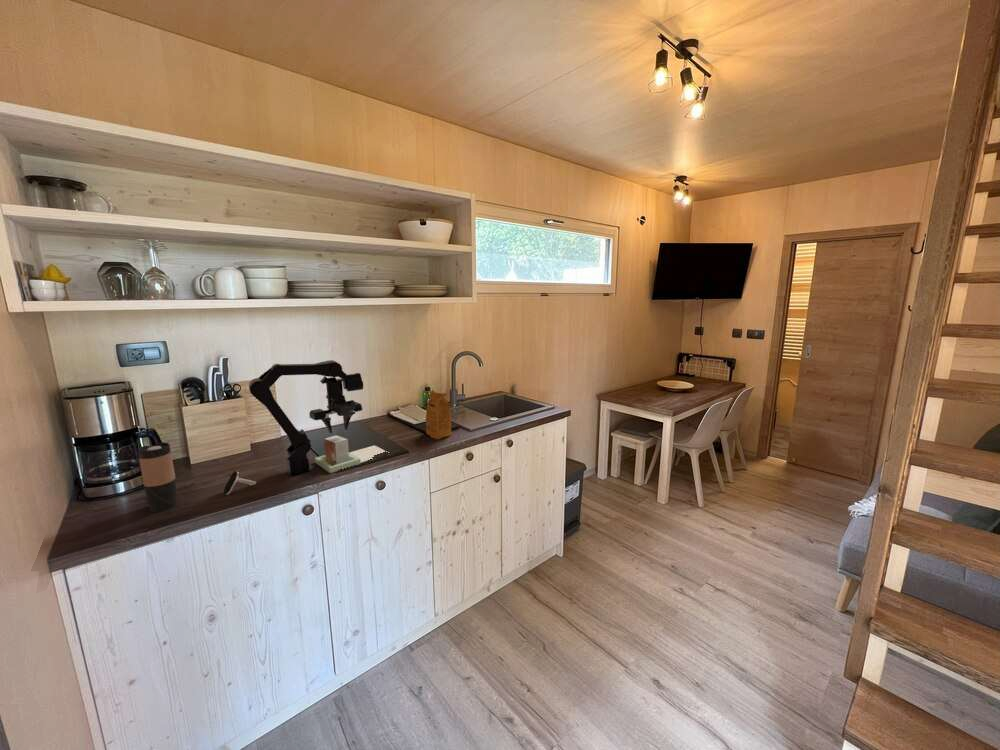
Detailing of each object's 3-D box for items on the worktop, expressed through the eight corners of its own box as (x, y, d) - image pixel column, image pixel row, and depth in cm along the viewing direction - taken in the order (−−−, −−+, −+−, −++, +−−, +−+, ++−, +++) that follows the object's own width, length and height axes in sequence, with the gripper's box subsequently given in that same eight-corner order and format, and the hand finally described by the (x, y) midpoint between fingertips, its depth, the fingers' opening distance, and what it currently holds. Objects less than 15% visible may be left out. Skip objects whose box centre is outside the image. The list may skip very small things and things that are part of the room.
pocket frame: (330, 473, 150) (329, 468, 150) (315, 463, 160) (314, 457, 159) (360, 464, 159) (360, 459, 158) (344, 454, 168) (344, 449, 168)
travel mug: (168, 512, 123) (157, 451, 119) (141, 513, 123) (130, 451, 119) (185, 499, 131) (175, 442, 127) (160, 500, 130) (150, 442, 126)
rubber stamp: (226, 496, 132) (238, 473, 134) (222, 492, 135) (234, 469, 137) (249, 501, 138) (261, 478, 139) (245, 496, 141) (256, 474, 143)
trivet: (361, 463, 159) (360, 462, 159) (346, 454, 168) (346, 453, 168) (390, 454, 168) (389, 453, 168) (374, 446, 177) (374, 445, 177)
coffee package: (441, 430, 200) (440, 387, 195) (454, 436, 190) (453, 391, 186) (423, 434, 194) (421, 390, 190) (435, 441, 184) (434, 395, 180)
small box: (325, 463, 159) (323, 438, 157) (338, 459, 164) (336, 434, 162) (336, 468, 155) (334, 442, 153) (349, 463, 159) (347, 438, 157)
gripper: (319, 401, 142) (323, 442, 145) (367, 392, 155) (370, 430, 158) (307, 396, 150) (311, 435, 153) (354, 387, 163) (357, 424, 166)
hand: (338, 431), depth 157 cm, fingers open, 6 cm apart
